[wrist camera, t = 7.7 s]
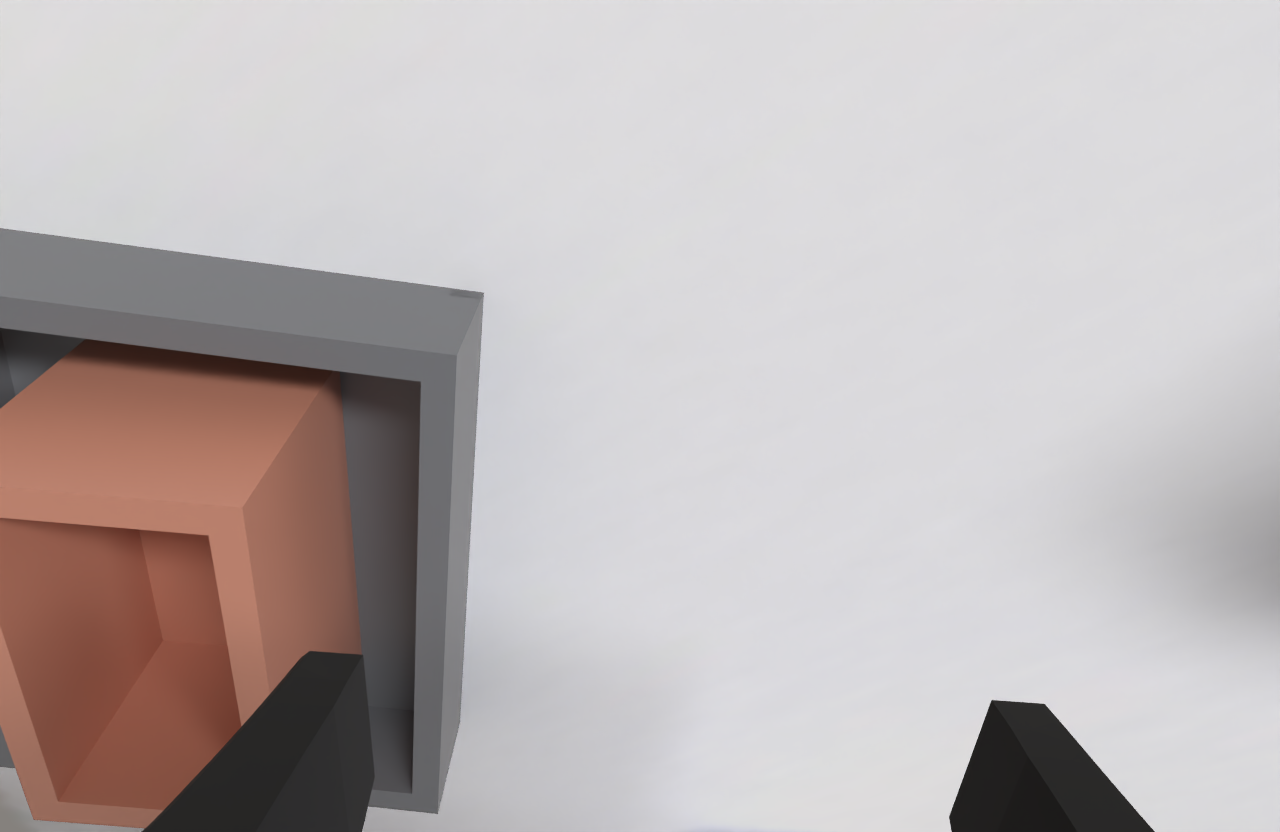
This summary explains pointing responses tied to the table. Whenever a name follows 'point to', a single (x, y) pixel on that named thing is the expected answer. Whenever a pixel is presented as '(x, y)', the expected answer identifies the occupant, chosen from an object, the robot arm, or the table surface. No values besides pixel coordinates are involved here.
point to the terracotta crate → (162, 566)
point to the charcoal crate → (373, 425)
